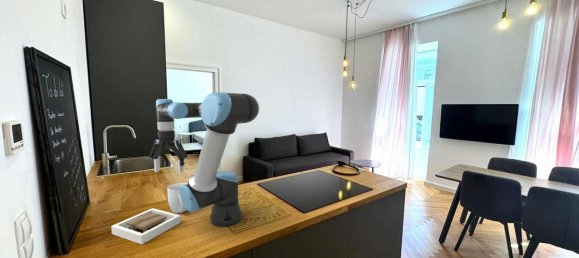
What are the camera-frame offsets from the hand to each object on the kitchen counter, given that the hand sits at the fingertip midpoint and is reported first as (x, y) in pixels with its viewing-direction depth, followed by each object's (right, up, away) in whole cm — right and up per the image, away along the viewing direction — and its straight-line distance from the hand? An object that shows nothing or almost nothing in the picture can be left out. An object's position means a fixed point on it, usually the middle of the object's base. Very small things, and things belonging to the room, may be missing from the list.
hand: (169, 171), depth 119 cm
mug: (+4, -21, +3) cm, 22 cm away
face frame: (-3, -23, -13) cm, 27 cm away
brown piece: (-3, -23, -13) cm, 27 cm away
